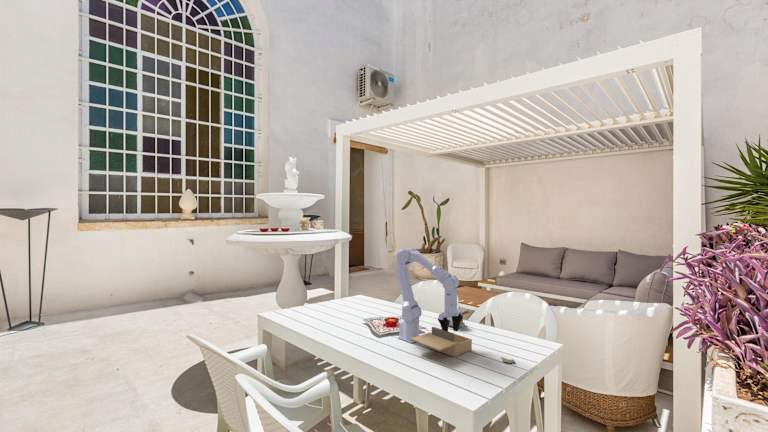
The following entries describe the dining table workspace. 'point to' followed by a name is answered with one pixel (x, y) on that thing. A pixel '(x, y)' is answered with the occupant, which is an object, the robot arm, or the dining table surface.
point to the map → (507, 360)
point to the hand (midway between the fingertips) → (450, 332)
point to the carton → (458, 346)
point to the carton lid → (436, 339)
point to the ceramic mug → (452, 322)
